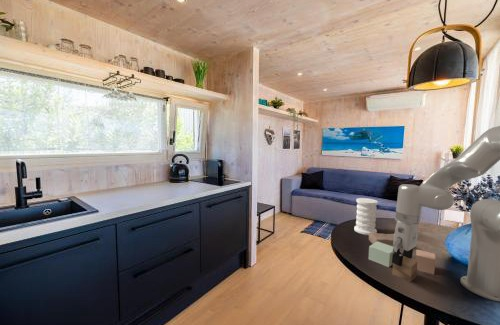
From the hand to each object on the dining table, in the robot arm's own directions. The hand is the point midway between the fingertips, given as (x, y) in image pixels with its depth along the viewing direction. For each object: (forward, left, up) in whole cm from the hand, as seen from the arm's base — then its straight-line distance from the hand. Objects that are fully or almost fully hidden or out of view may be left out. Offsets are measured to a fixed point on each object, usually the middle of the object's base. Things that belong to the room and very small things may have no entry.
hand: (402, 260), depth 85 cm
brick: (+14, -25, -6) cm, 29 cm away
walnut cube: (-1, -1, -6) cm, 6 cm away
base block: (+9, -6, -6) cm, 12 cm away
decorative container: (+29, -32, -6) cm, 43 cm away
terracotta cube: (-4, -13, -6) cm, 14 cm away
